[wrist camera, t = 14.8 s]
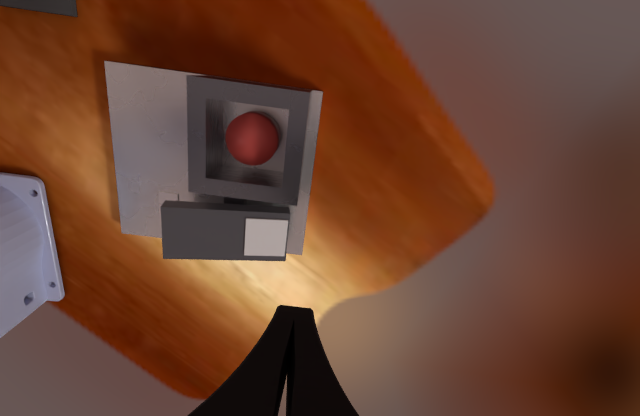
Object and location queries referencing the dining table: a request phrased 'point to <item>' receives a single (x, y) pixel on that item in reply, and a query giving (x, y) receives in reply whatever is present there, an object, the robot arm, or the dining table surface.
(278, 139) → the button
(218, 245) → the block
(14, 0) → the pad
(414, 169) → the dining table surface
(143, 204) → the panel
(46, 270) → the robot arm
